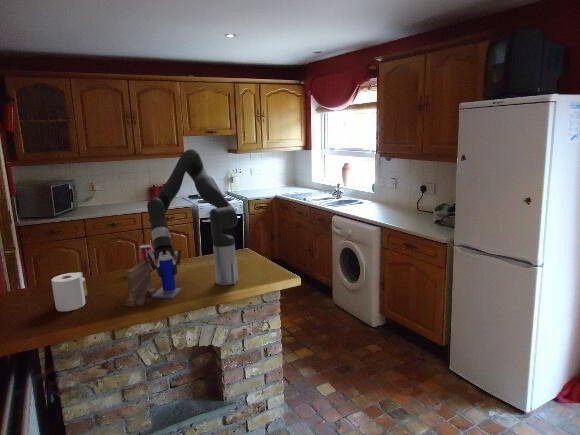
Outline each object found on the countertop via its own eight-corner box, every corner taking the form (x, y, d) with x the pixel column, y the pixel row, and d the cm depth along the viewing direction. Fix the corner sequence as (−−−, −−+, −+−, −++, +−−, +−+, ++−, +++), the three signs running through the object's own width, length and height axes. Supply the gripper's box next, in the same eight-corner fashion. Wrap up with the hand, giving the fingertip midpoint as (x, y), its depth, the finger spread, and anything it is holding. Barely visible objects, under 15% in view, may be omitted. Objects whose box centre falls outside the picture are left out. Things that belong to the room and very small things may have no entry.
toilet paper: (50, 308, 165) (45, 279, 162) (75, 299, 174) (71, 271, 171) (66, 313, 160) (61, 283, 157) (91, 303, 169) (86, 274, 166)
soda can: (158, 267, 211) (155, 243, 208) (152, 271, 204) (149, 247, 201) (144, 267, 211) (141, 243, 209) (138, 271, 205) (135, 247, 202)
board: (156, 292, 178) (153, 260, 175) (140, 306, 164) (136, 271, 161) (143, 292, 179) (139, 260, 176) (125, 305, 165) (121, 271, 162)
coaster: (181, 289, 180) (181, 288, 180) (172, 298, 171) (172, 296, 171) (161, 289, 181) (161, 287, 181) (151, 297, 172) (151, 295, 172)
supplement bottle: (90, 294, 179) (87, 272, 176) (80, 299, 174) (76, 276, 172) (80, 292, 180) (76, 271, 178) (69, 297, 175) (66, 275, 173)
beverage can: (178, 288, 178) (174, 254, 175) (170, 293, 173) (166, 258, 170) (168, 287, 180) (164, 253, 177) (160, 292, 176) (156, 257, 172)
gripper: (178, 242, 187) (185, 276, 179) (144, 247, 182) (150, 282, 174) (179, 233, 181) (186, 268, 173) (143, 238, 176) (149, 274, 168)
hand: (168, 275), depth 173 cm, fingers closed on beverage can, 5 cm apart
